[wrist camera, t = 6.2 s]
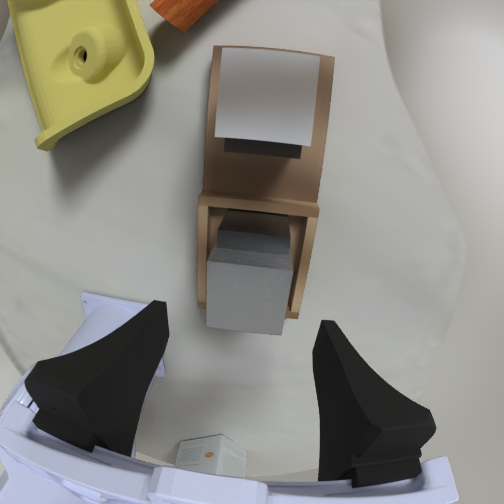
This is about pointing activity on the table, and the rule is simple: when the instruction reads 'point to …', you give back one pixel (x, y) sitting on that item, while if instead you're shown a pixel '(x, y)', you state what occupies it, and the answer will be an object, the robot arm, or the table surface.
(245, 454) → the small box
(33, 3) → the plastic component
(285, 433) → the table surface
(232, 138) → the brown wooden frame
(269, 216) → the grey metal block
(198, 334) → the table surface
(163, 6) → the kendama
